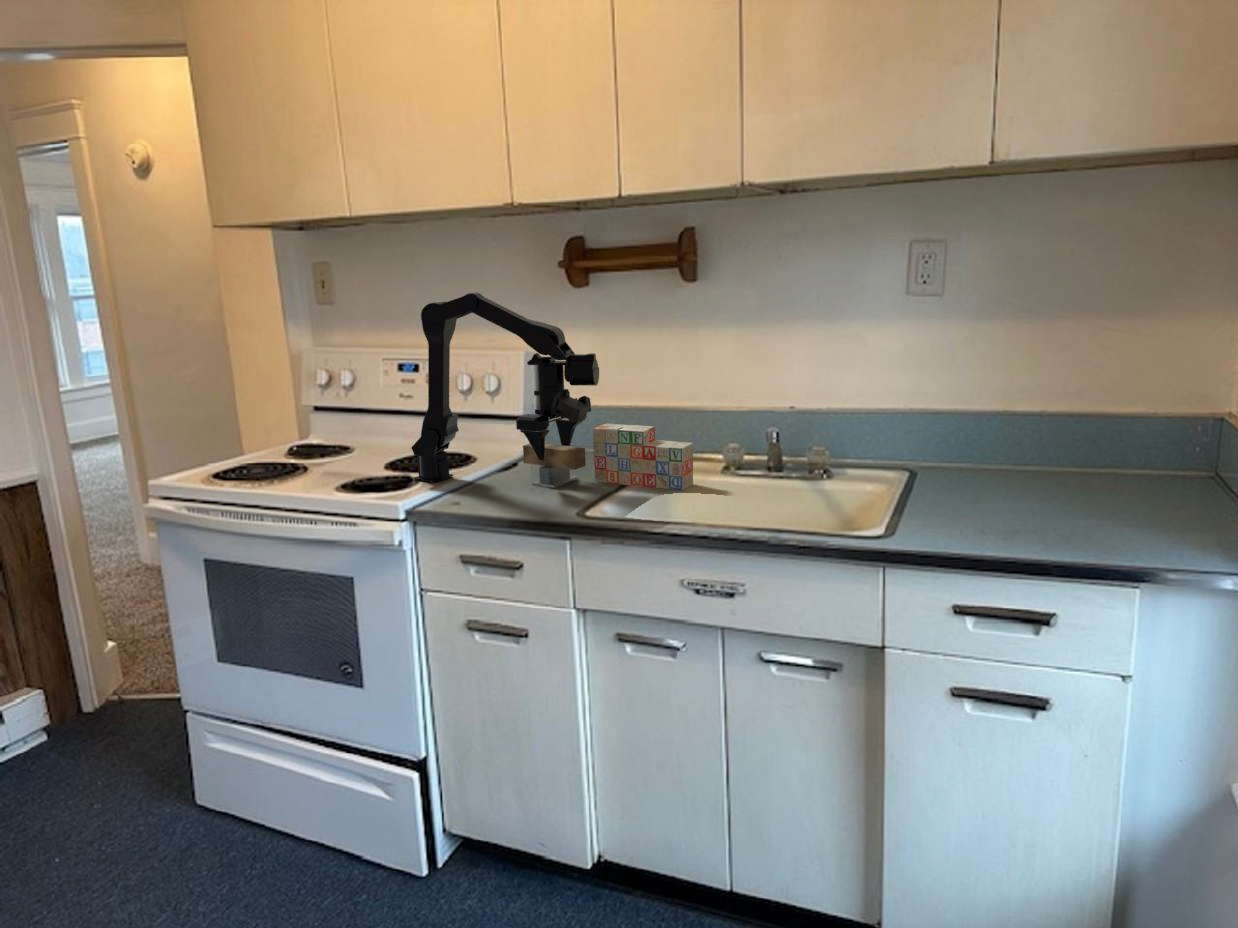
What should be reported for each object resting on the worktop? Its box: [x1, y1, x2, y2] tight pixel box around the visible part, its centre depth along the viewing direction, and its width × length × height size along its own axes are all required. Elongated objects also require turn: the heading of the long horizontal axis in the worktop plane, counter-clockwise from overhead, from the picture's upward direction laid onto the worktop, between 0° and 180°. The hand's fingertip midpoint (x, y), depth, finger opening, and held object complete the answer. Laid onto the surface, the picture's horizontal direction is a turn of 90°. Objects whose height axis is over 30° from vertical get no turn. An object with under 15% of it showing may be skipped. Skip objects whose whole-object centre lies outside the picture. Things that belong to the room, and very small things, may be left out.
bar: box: [522, 443, 587, 471], centre depth 191 cm, size 14×4×4 cm, turn 58°
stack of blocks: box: [592, 423, 694, 491], centre depth 189 cm, size 21×6×12 cm, turn 62°
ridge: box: [531, 466, 579, 489], centre depth 192 cm, size 6×9×4 cm, turn 148°
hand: (554, 455), depth 191 cm, fingers open, 9 cm apart
